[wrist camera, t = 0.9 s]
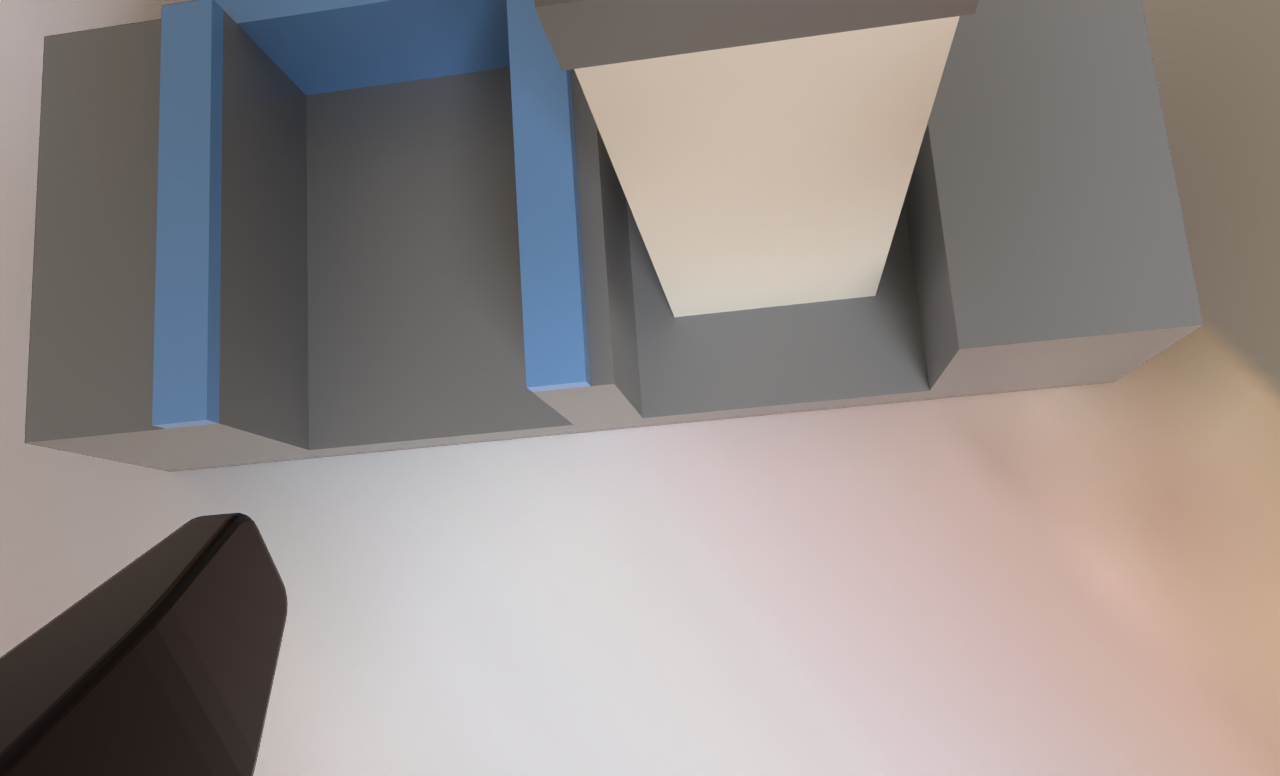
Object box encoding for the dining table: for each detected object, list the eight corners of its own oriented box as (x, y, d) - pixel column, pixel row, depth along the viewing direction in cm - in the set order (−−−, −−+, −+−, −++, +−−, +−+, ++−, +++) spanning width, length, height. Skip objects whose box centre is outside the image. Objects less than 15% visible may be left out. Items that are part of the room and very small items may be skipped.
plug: (856, 103, 21) (942, -489, 10) (880, 300, 20) (1007, -89, 9) (654, 130, 22) (502, -404, 10) (669, 322, 21) (524, -17, 9)
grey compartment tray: (1045, -25, 22) (1115, -194, 18) (1113, 381, 20) (1213, 318, 16) (177, 97, 25) (31, -22, 20) (170, 471, 23) (8, 439, 18)
